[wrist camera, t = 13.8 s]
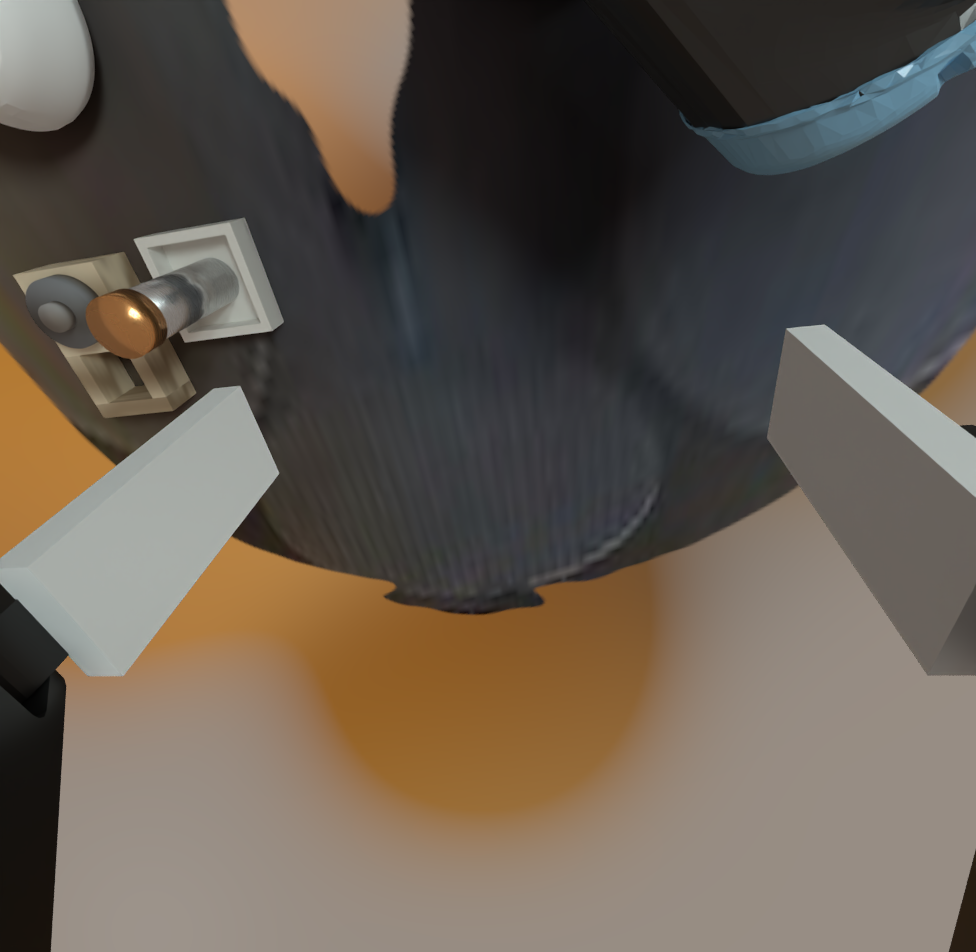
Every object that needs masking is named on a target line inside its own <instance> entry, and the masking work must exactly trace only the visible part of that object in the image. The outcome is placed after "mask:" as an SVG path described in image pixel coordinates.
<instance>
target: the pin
mask: <svg viewBox="0 0 976 952" xmlns="http://www.w3.org/2000/svg"><path fill="white" fill-rule="evenodd" d="M238 293H239V282H238V279H237V276H236V274H235V273H234V271H233V270H232V269H231V268H230V267H229V266H228V265H227V264H226V263H225V262H223V261H221V260H219V259H216V258H204V259H202V260H199V261H197V262H194V263H192V264H189V265H187V266H184V267H182V268H179V269H177V270H174V271H172V272H169V273H167V274H164V275H162V276H159V277H156V278H154V279H151V280H149V281H146V282H144V283H141V284H139V285H136V286H134V287H131V288H129V289H125V288H124V289H117V290H115V291H112V292H110V293H107V294H104V295H102V296H99V297H97V298H95V299H93V300H91V301H90V302H89V304H88V305H87V308H86V321H87V325H88V327H89V329H90V331H91V333H92V335H93V336H94V337H95V339H96V340H97V341H98V342H99V343H100V344H101V345H102V346H103V347H104V348H105V349H107V350H108V351H110V352H111V353H113V354H115V355H117V356H119V357H123V358H127V359H136V358H140V357H142V356H144V355H145V354H147V353H149V352H151V351H152V350H154V349H156V348H157V347H159V346H161V345H162V344H163V343H164V342H165V340H166V339H167V338H169V337H171V336H172V335H174V334H176V333H178V332H179V331H181V330H183V329H185V328H187V327H188V326H190V325H192V324H194V323H195V322H197V321H199V320H201V319H202V318H204V317H206V316H208V315H209V314H211V313H213V312H215V311H216V310H218V309H220V308H222V307H224V306H225V305H227V304H229V303H231V302H232V301H234V300H235V299H236V298H237V296H238Z"/></svg>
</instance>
